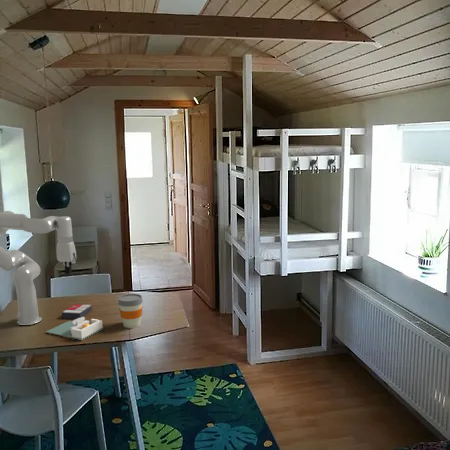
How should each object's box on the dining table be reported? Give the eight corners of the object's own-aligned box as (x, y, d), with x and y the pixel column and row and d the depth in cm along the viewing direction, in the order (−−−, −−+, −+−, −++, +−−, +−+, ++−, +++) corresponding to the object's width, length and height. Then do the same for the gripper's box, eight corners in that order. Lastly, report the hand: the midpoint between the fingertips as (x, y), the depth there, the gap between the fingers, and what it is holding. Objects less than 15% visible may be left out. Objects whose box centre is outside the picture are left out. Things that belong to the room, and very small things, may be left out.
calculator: (92, 304, 279) (79, 312, 264) (92, 311, 280) (80, 319, 265) (74, 303, 281) (61, 311, 266) (74, 310, 282) (61, 319, 267)
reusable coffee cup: (118, 322, 258) (116, 295, 256) (141, 318, 263) (139, 292, 260) (122, 330, 247) (119, 302, 244) (146, 326, 251) (144, 299, 249)
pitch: (46, 333, 247) (45, 331, 246) (69, 322, 261) (68, 320, 260) (81, 341, 236) (81, 339, 236) (103, 329, 250) (103, 327, 250)
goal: (72, 336, 239) (71, 329, 238) (93, 325, 252) (92, 318, 251) (82, 338, 236) (81, 331, 235) (102, 327, 249) (102, 320, 248)
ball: (86, 326, 240) (86, 334, 242) (92, 323, 244) (92, 331, 246) (79, 323, 242) (79, 331, 243) (86, 320, 246) (85, 328, 247)
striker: (69, 333, 242) (68, 323, 241) (84, 325, 252) (83, 315, 251) (74, 334, 241) (73, 324, 240) (89, 326, 250) (89, 316, 249)
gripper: (49, 240, 254) (53, 274, 257) (70, 242, 247) (73, 276, 250) (60, 237, 260) (63, 270, 264) (81, 239, 254) (84, 273, 257)
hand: (68, 273), depth 257 cm, fingers closed
